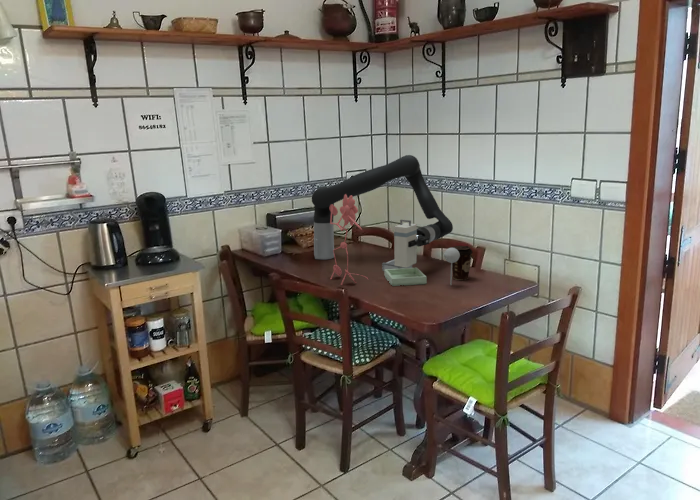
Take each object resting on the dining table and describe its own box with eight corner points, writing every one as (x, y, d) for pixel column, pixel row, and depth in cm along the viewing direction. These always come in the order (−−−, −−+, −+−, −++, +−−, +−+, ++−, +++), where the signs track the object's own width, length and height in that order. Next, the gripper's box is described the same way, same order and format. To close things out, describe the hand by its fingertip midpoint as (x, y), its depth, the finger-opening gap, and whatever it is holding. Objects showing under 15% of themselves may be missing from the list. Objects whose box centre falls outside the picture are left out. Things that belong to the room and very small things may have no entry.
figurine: (349, 291, 209) (350, 199, 201) (319, 275, 231) (319, 192, 223) (383, 285, 216) (385, 197, 208) (351, 270, 238) (351, 190, 230)
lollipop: (449, 288, 211) (450, 250, 207) (439, 284, 216) (440, 247, 212) (461, 285, 213) (463, 248, 210) (452, 281, 218) (453, 245, 215)
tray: (392, 286, 214) (392, 278, 213) (384, 276, 228) (384, 269, 227) (426, 284, 216) (426, 276, 215) (416, 274, 230) (417, 267, 229)
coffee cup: (472, 276, 226) (474, 245, 223) (470, 282, 218) (471, 250, 215) (451, 274, 228) (452, 244, 225) (448, 280, 221) (449, 249, 218)
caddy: (406, 267, 216) (406, 222, 211) (394, 265, 219) (394, 221, 214) (416, 262, 222) (416, 219, 218) (404, 261, 225) (404, 217, 221)
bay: (400, 274, 230) (400, 266, 229) (382, 270, 236) (382, 263, 235) (412, 268, 238) (412, 261, 237) (394, 265, 244) (394, 258, 243)
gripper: (408, 225, 233) (386, 232, 219) (438, 228, 224) (418, 236, 211) (408, 242, 234) (386, 250, 221) (438, 246, 226) (418, 255, 213)
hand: (402, 243), depth 216 cm, fingers closed on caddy, 5 cm apart
